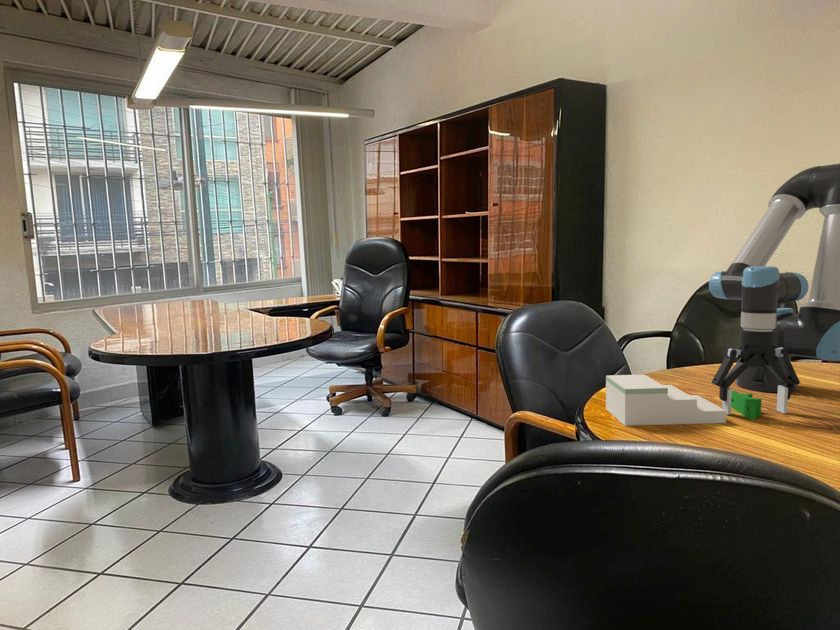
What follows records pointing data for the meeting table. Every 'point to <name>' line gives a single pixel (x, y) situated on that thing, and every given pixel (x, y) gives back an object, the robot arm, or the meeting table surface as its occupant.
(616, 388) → the stepped riser
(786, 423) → the meeting table surface
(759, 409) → the pipe clamp
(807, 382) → the meeting table surface
